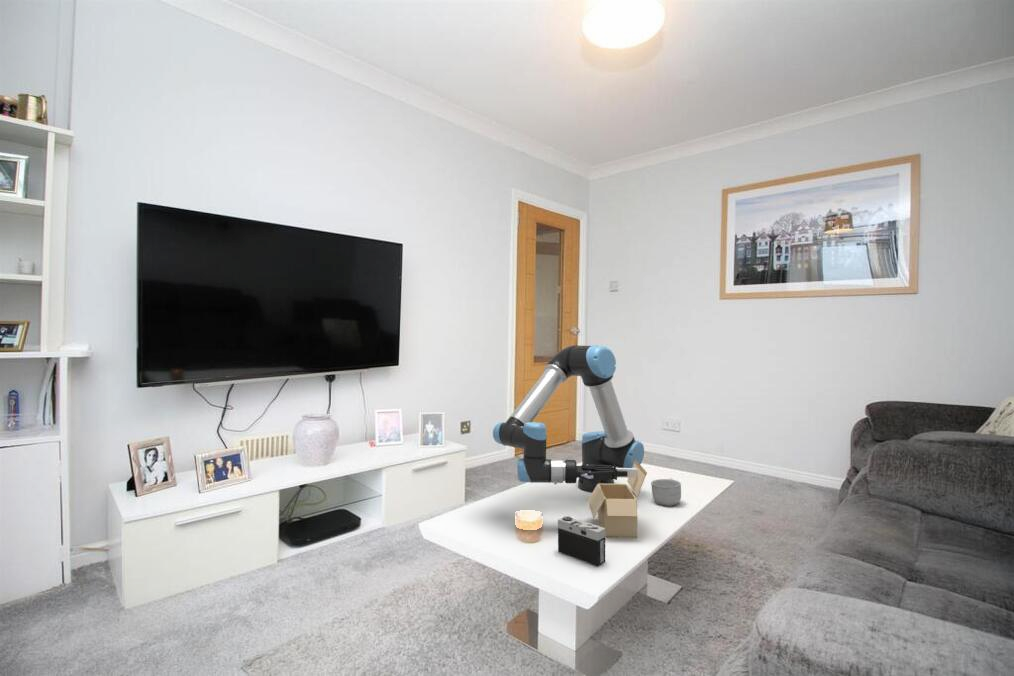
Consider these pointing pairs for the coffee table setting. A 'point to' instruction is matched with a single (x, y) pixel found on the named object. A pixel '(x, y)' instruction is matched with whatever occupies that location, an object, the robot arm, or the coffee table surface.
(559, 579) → the coffee table surface
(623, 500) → the carton
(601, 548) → the camera
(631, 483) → the flap
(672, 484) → the teacup
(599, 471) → the robot arm
